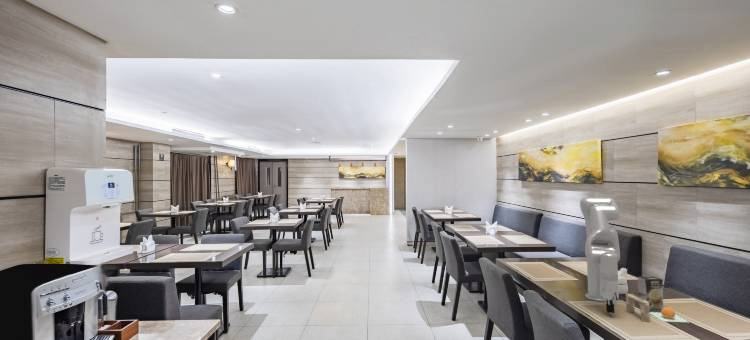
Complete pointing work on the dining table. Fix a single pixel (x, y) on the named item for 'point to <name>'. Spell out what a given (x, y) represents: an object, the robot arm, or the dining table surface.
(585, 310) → the dining table surface
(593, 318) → the dining table surface
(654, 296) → the coffee box
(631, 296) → the bridge
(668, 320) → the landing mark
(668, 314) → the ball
